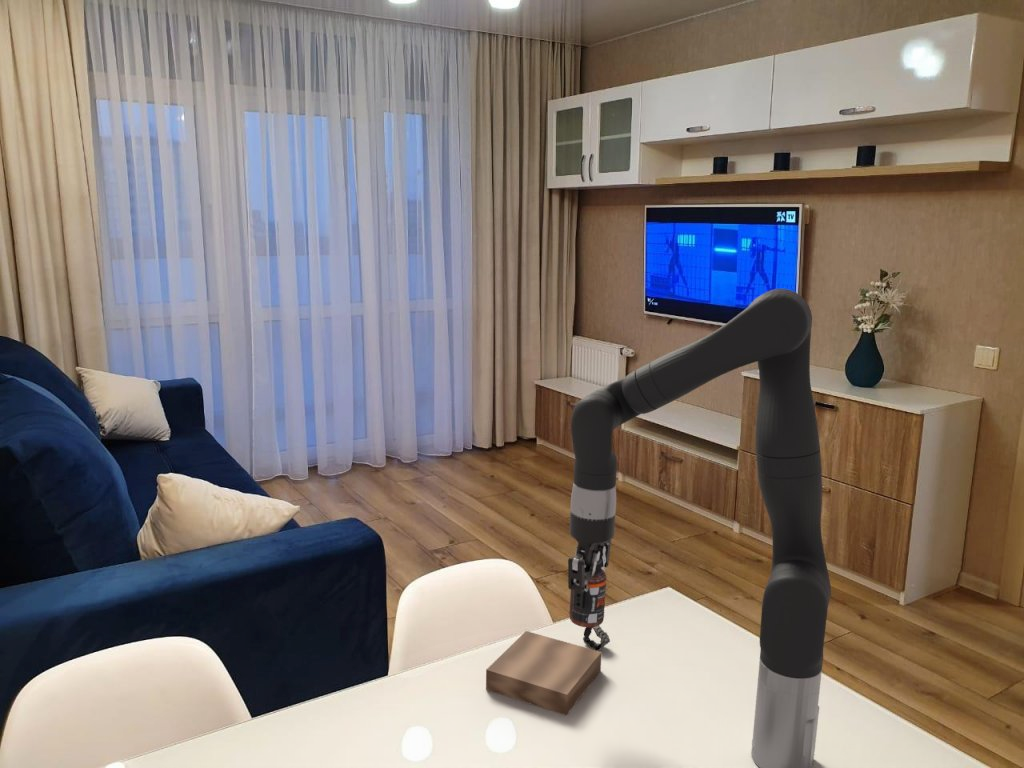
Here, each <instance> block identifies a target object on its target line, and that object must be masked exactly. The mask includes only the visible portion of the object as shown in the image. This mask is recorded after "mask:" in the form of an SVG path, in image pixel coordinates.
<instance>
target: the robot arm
mask: <svg viewBox="0 0 1024 768" xmlns="http://www.w3.org/2000/svg"><path fill="white" fill-rule="evenodd" d="M811 310H812V309H810V306H809V303H808V302H807V300H805V298H803V296H801V295H800V294H799V293H797V292H795V291H793V290H791V289H787V288H775V289H770V290H768V291H766V292H764V293H761V294H760V295H759V296H757V297H756V298H754V299H753V300H752V301H751V302H750V304H749V305H748V306H747V307H746V308H745V309H743V311H741V312H739V313H738V314H737V315H736V316H734V317H733V318H732V319H730V320H729V321H728V322H726V323H725V324H724V325H722V326H721V327H720V328H717V329H715V330H714V331H713V332H711V333H708V335H706V336H704V337H701V338H700V339H699V340H698V339H697V340H696V341H694V342H691V343H689V344H687V345H684V346H682V347H680V348H677V349H676V350H673V351H671V352H669V353H666V354H664V355H662V356H660V357H657V358H655V359H654V360H652V361H650V362H648V363H646V364H644V365H642V366H640V367H639V368H637V369H635V370H633V371H631V372H630V373H629V374H627V375H626V376H625V377H622V378H621V379H619V380H616V381H614V382H612V383H610V384H607V385H604V386H603V387H601V388H599V389H597V390H595V391H593V392H591V393H590V394H589V393H588V395H586V396H584V397H583V398H581V399H580V400H578V402H577V403H576V404H575V405H574V407H573V410H572V415H571V420H570V422H571V423H570V428H571V429H570V431H571V440H572V449H573V453H574V465H573V467H574V468H573V485H572V489H571V497H570V508H569V509H570V510H569V511H570V513H569V514H570V515H569V535H570V536H571V537H572V538H573V539H574V540H575V541H576V542H577V546H576V548H575V552H574V556H575V557H573V556H569V558H568V560H567V561H568V562H567V571H568V572H567V574H568V575H567V577H568V579H567V581H568V584H567V585H568V589H569V590H570V591H571V590H574V609H576V610H579V611H585V610H586V609H587V603H588V589H589V583H590V579H591V578H593V577H594V573H595V569H596V564H597V562H598V560H599V558H600V559H601V560H602V568H601V569H602V570H603V571H604V572H605V573H606V568H608V567H609V564H610V563H609V561H610V553H611V545H612V544H611V543H612V539H613V538H614V537H615V527H616V526H615V525H616V511H617V487H616V485H617V470H618V459H617V455H616V453H615V452H614V451H613V431H614V430H615V429H617V428H619V427H620V426H622V425H623V424H625V423H627V422H628V421H631V420H632V419H635V418H637V417H638V416H640V415H645V414H649V413H651V412H653V411H656V410H657V409H660V408H662V407H664V406H667V405H668V404H669V403H672V402H674V401H676V400H678V399H680V398H681V397H684V396H686V395H687V394H689V393H691V392H693V391H694V390H696V389H698V388H699V387H702V386H703V385H706V384H708V382H711V381H713V380H715V379H716V378H718V377H720V376H723V375H725V374H727V373H729V372H732V371H734V370H737V369H738V368H741V367H744V366H746V365H750V364H753V363H757V367H758V368H757V369H758V376H759V392H758V402H757V403H758V404H757V409H756V410H757V413H756V422H755V457H756V460H755V461H756V470H757V479H758V486H759V489H760V492H761V497H762V500H763V503H764V505H765V509H766V511H767V516H768V517H769V522H770V526H771V533H772V535H771V536H772V557H771V558H772V559H771V560H772V562H771V572H770V576H769V579H768V581H767V583H766V586H765V588H764V592H763V596H762V602H761V603H762V604H761V614H760V615H761V616H760V632H759V648H760V649H759V650H760V652H759V653H760V654H759V663H758V672H757V673H758V676H757V688H756V696H755V697H756V699H755V709H754V718H753V719H754V720H753V729H752V740H751V758H752V760H753V762H754V763H755V764H756V766H758V767H759V768H812V767H813V763H814V759H815V751H816V741H817V732H818V731H817V730H818V723H819V713H820V706H819V699H820V691H821V690H820V689H821V683H822V681H821V680H822V671H823V663H824V646H825V636H826V627H827V617H828V611H829V604H830V601H831V597H832V596H831V595H832V593H831V592H832V586H831V580H830V575H829V572H828V571H829V570H828V566H827V561H826V555H825V549H824V543H823V536H822V526H821V525H822V522H821V521H822V507H823V506H822V505H823V504H822V503H823V501H822V500H823V481H822V477H823V476H822V475H823V474H822V470H823V469H822V459H821V458H822V457H821V444H820V435H819V427H818V426H819V425H818V420H817V413H816V409H815V402H814V398H813V391H812V386H811V385H812V384H811V372H810V371H811V369H810V368H811V367H810V364H811V338H812V335H811V334H812V324H813V316H812V311H811ZM585 569H590V571H589V572H585ZM578 581H579V582H578Z"/></svg>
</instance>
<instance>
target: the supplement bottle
mask: <svg viewBox="0 0 1024 768" xmlns="http://www.w3.org/2000/svg"><path fill="white" fill-rule="evenodd" d="M601 568H602V560H601V559H600V558H599V560H598V562H597V564H596V569H595V573H594V577H593V578H591V579H590V583H589V589H588V603H587V609H586V610H585V611H579V610H576V609H574V590H571V589H570V594H569V595H570V598H569V620H570V622H571V623H573V624H574V625H577V626H579V627H580V628H581V627H582V628H586V627H588V628H592V627H596V626H600V625H602V624H603V622H604V618H605V607H606V594H607V593H606V589H607V574H606V571H605V572H604V571H603V570H602V569H601ZM589 571H590V569H585V572H589ZM578 582H579V581H578ZM592 629H593V628H592Z"/></svg>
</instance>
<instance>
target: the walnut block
mask: <svg viewBox="0 0 1024 768" xmlns="http://www.w3.org/2000/svg"><path fill="white" fill-rule="evenodd" d="M601 669H602V651H599V650H598V651H596V650H594V649H591V648H589V647H584V646H581V645H577V644H575V643H571V642H567V641H563V640H560V639H556V638H552V637H549V636H547V635H546V636H545V635H542V634H538V633H535V632H530V631H527V630H525V631H524V633H522V634H521V635H520V636H519V637H518V638H517V639H516V640H515V641H514V642H513V643H512V644H511V645H510V646H509V647H508V648H507V649H506V650H505V651H504V652H503V653H502V654H501V655H499V656H498V657H497V658H496V659H495V660H494V662H493V663H491V664H490V665H489V666H488V668H486V669H485V670H486V671H485V690H487V691H490V692H492V693H496V694H499V695H502V696H505V697H508V698H511V699H514V700H517V701H520V702H524V703H527V704H530V705H532V706H537V707H539V708H542V709H545V710H549V711H552V712H555V713H558V714H561V715H564V716H567V715H568V714H569V712H570V711H572V708H574V706H575V705H576V704H577V702H578V701H579V700H580V698H581V697H582V696H583V694H584V693H585V692H586V691H587V689H589V687H590V685H591V684H592V683H593V682H594V681H595V679H596V678H597V677H598V676H599V674H600V673H601Z"/></svg>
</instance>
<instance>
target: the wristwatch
mask: <svg viewBox="0 0 1024 768" xmlns="http://www.w3.org/2000/svg"><path fill="white" fill-rule="evenodd" d="M592 630H593V631H594V633H595V634H596V637H598V638H599V639H600V641H599V642H600V643H599V642H596V641H595V640H592V639H591V638H590V635H591V634H592ZM582 640H583V643H584V644H585V645H586V646H588V648H589V649H593V650H596V651H599V650H601V649H602V648H603V647H605V646H606V645H608V644H609V643H610V642H611V639H610V636H609V635H608V632H606V631H604V630H603V629H602V626H600V625H599V626H596V627H592V628H588V627H584V632H583V638H582Z"/></svg>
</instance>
